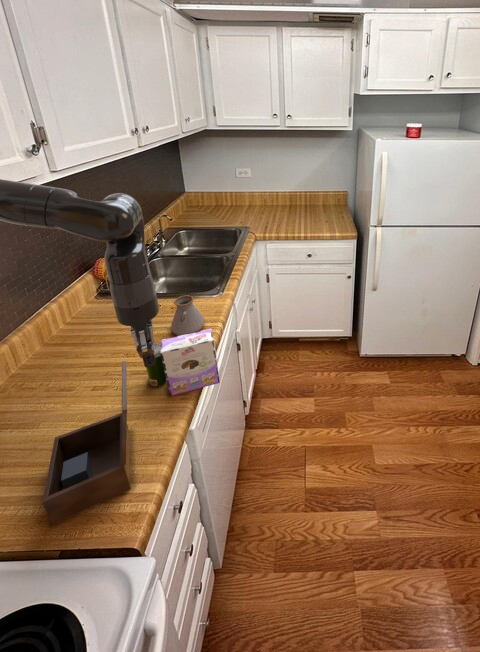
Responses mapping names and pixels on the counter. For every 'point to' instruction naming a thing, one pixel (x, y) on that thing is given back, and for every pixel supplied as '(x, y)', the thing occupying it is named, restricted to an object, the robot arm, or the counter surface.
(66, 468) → the block
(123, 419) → the lid
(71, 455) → the box
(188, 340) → the candy box
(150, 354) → the robot arm
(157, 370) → the beer can
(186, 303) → the coffee pot
